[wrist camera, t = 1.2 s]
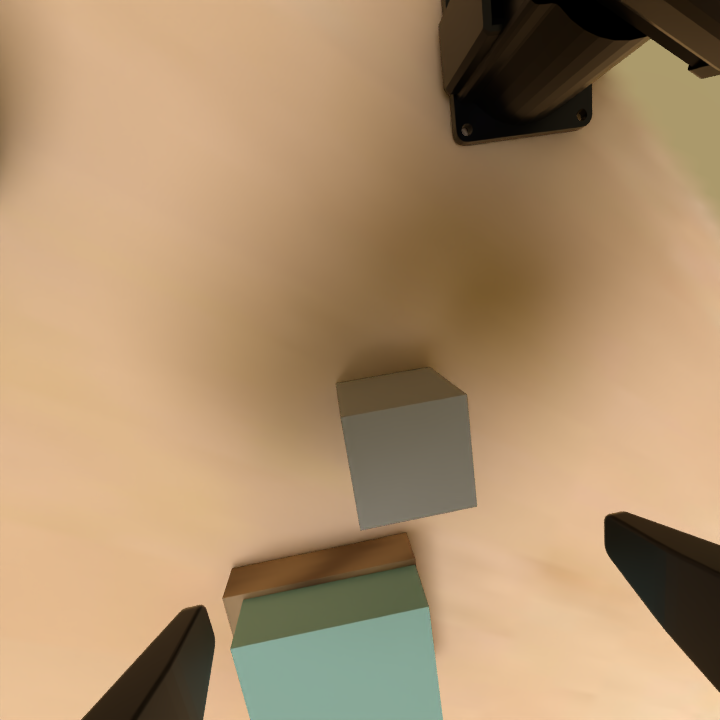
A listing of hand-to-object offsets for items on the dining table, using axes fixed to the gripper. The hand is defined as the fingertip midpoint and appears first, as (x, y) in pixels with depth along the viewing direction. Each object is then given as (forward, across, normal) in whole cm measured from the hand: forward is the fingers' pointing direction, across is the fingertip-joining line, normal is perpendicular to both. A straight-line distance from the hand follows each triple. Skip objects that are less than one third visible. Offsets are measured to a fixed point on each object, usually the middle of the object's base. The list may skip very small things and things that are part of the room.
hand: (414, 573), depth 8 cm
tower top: (+9, +3, +13) cm, 16 cm away
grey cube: (+11, -1, +1) cm, 11 cm away
